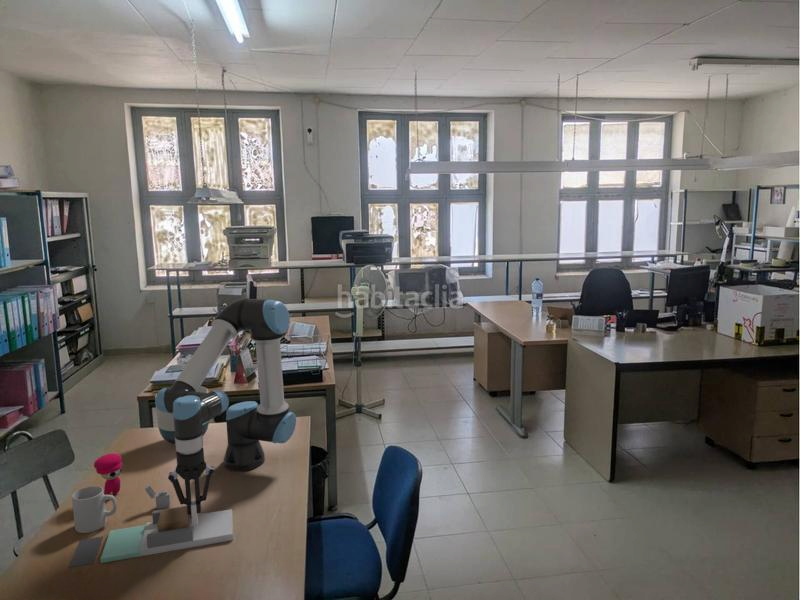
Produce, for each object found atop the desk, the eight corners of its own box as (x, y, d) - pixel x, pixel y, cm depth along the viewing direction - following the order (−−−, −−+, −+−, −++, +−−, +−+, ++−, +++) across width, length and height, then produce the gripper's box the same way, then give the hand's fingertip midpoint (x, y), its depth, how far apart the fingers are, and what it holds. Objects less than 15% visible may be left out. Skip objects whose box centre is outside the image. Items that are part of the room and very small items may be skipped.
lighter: (170, 504, 180) (168, 481, 179) (169, 507, 178) (168, 484, 177) (147, 507, 178) (145, 484, 177) (146, 510, 176) (144, 487, 175)
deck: (232, 514, 174) (231, 499, 173) (233, 540, 161) (232, 523, 160) (147, 528, 166) (145, 512, 165) (140, 556, 153) (138, 538, 152)
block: (190, 520, 167) (189, 505, 166) (188, 535, 159) (187, 519, 159) (161, 525, 165) (160, 510, 164) (158, 540, 157) (157, 524, 156)
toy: (113, 504, 180) (109, 462, 177) (91, 501, 181) (87, 459, 179) (130, 491, 188) (127, 450, 185) (109, 489, 190) (106, 448, 187)
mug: (71, 535, 163) (67, 501, 161) (80, 519, 171) (76, 487, 169) (114, 529, 166) (111, 496, 164) (121, 514, 174) (118, 482, 172)
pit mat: (103, 539, 162) (102, 536, 162) (93, 566, 150) (93, 563, 150) (80, 543, 161) (80, 540, 160) (68, 570, 148) (68, 567, 148)
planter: (151, 441, 228) (147, 392, 225) (199, 428, 242) (196, 382, 238) (169, 457, 213) (165, 405, 210) (219, 442, 227) (216, 393, 223)
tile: (147, 528, 166) (146, 524, 166) (140, 556, 153) (140, 552, 153) (110, 534, 163) (110, 530, 163) (100, 563, 150) (100, 558, 150)
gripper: (213, 441, 165) (217, 512, 169) (167, 446, 161) (172, 520, 165) (213, 451, 158) (217, 525, 162) (164, 457, 154) (170, 533, 158)
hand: (195, 522), depth 163 cm, fingers closed
